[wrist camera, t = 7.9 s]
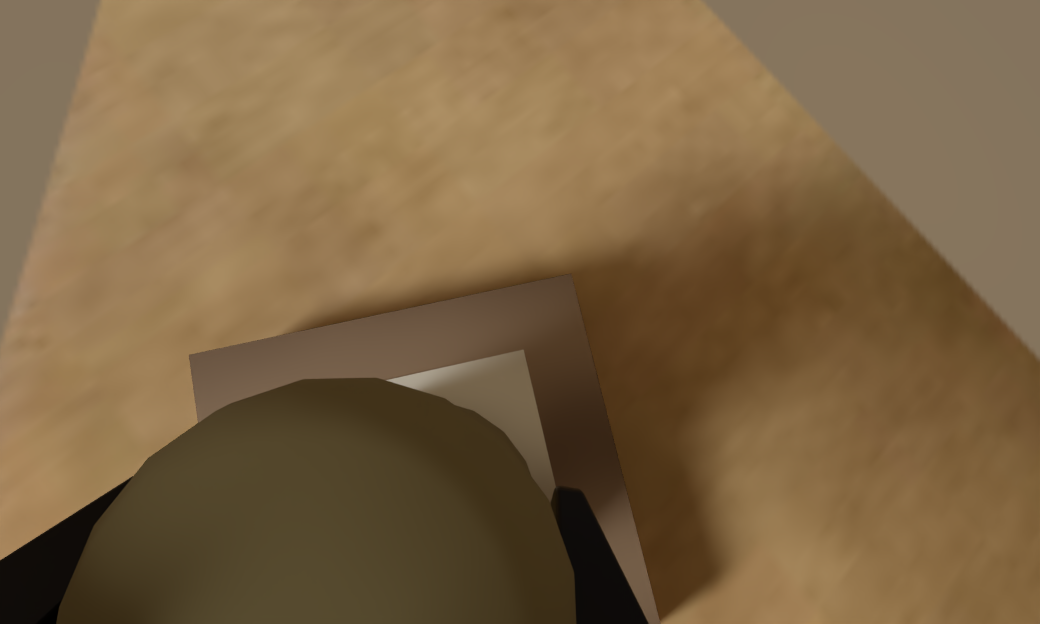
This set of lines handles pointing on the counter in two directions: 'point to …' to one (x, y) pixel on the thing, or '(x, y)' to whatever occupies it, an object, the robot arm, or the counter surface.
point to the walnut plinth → (470, 386)
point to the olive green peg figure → (328, 520)
